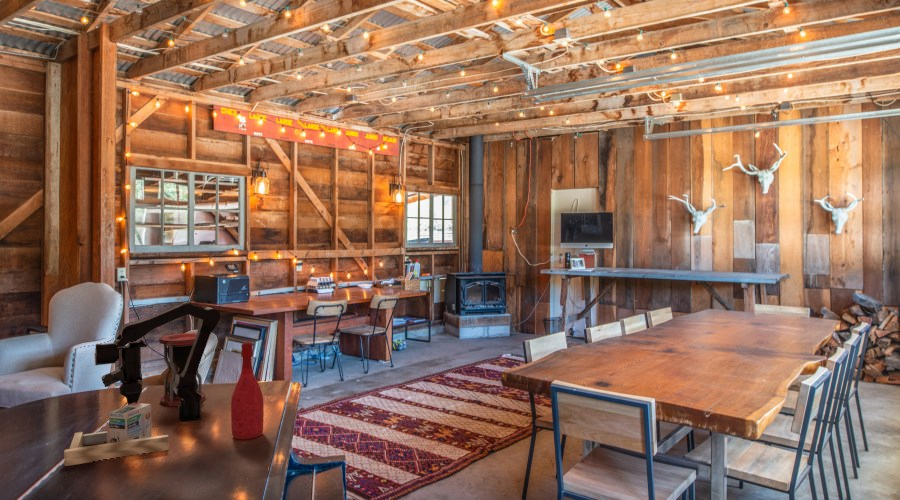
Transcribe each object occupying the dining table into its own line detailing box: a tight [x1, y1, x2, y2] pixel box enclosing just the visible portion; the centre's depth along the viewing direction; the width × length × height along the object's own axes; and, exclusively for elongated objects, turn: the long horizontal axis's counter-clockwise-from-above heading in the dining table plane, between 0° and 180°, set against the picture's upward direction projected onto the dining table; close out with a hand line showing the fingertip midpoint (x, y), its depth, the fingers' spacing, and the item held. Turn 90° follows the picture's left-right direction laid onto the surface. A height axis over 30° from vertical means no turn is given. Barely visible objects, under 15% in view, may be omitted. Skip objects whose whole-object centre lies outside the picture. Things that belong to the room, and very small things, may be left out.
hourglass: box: [158, 332, 206, 407], centre depth 225 cm, size 16×16×25 cm
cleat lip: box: [82, 431, 109, 447], centre depth 179 cm, size 6×2×3 cm, turn 118°
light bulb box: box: [108, 402, 152, 443], centre depth 180 cm, size 11×7×11 cm, turn 168°
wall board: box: [63, 431, 169, 467], centre depth 175 cm, size 26×17×4 cm, turn 118°
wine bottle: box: [230, 341, 265, 440], centre depth 185 cm, size 10×10×30 cm
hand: (132, 407), depth 193 cm, fingers open, 9 cm apart
